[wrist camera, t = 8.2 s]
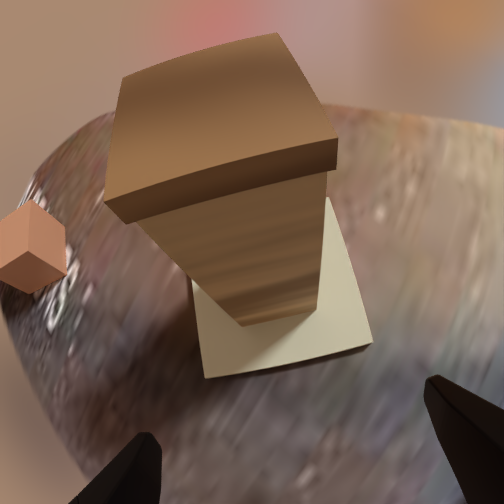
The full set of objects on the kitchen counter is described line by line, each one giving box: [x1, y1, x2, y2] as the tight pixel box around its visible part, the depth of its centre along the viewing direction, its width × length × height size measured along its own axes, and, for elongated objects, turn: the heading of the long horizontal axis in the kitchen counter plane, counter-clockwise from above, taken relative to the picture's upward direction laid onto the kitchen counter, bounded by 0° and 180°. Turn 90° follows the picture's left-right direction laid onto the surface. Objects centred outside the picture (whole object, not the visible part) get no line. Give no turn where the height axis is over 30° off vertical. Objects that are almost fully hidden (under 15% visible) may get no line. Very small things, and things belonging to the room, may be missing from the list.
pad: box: [192, 197, 373, 379], centre depth 20 cm, size 10×10×1 cm
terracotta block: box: [0, 199, 67, 294], centre depth 22 cm, size 5×5×5 cm
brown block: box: [104, 33, 338, 327], centre depth 13 cm, size 5×5×14 cm
